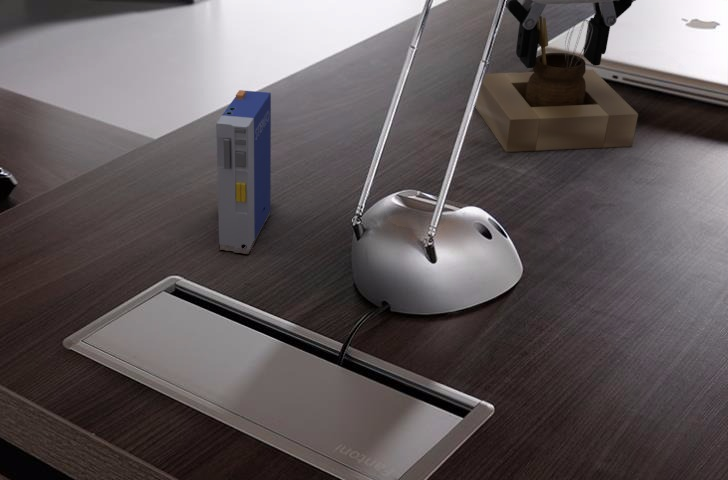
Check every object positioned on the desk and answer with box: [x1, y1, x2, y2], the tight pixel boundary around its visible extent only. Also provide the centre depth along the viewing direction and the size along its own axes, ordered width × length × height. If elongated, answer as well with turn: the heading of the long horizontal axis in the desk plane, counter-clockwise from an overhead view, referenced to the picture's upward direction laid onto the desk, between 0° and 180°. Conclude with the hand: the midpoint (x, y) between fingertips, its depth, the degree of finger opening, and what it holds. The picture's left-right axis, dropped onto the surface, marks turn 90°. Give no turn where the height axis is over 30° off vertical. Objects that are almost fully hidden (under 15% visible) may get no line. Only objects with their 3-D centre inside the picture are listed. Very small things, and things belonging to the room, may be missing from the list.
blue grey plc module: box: [215, 89, 272, 250], centre depth 93 cm, size 8×3×12 cm, turn 164°
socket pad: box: [474, 68, 639, 153], centre depth 114 cm, size 13×13×4 cm
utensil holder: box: [525, 15, 593, 107], centre depth 112 cm, size 6×6×12 cm
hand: (559, 60), depth 111 cm, fingers closed on utensil holder, 6 cm apart
